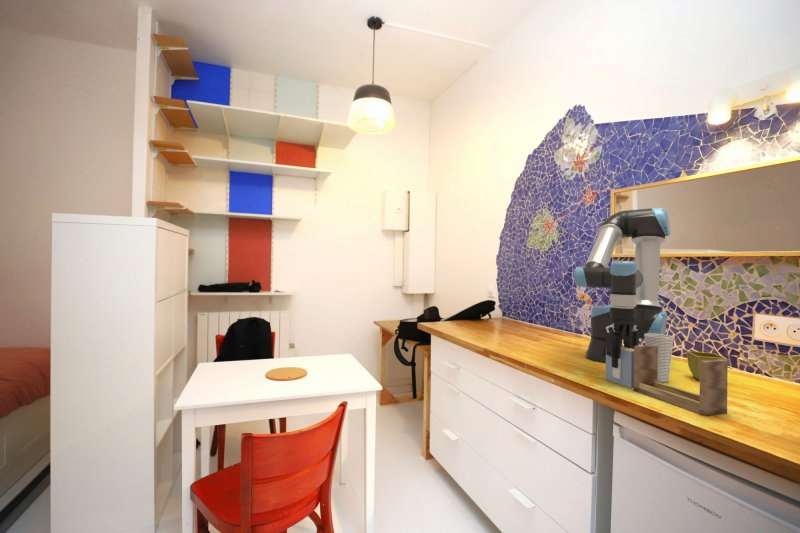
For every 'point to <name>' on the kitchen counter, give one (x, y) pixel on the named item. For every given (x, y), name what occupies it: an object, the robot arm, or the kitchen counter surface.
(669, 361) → the cup
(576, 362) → the kitchen counter surface
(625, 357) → the door panel
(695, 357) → the flower pot
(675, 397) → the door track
